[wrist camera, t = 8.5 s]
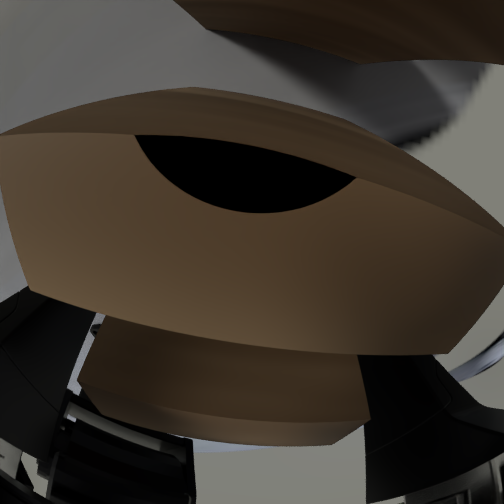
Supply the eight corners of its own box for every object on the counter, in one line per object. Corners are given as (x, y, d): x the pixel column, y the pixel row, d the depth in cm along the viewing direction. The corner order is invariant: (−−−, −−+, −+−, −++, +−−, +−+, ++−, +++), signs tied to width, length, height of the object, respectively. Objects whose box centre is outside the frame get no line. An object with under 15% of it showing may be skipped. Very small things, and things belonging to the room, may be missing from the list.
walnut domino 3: (301, 251, 13) (331, 444, 6) (176, 229, 13) (101, 414, 5) (314, 215, 12) (370, 419, 5) (179, 190, 11) (76, 380, 4)
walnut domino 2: (332, 164, 11) (448, 353, 3) (186, 134, 10) (30, 289, 3) (345, 119, 9) (525, 249, 2) (193, 86, 9) (-5, 136, 1)
